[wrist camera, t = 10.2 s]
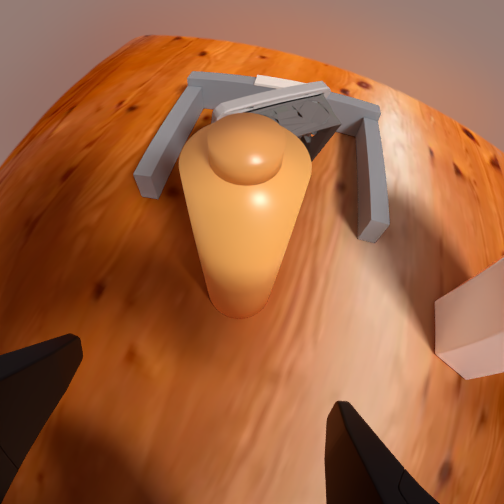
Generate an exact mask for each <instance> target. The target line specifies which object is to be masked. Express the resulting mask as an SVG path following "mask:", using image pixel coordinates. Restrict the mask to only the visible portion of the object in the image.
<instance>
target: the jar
mask: <svg viewBox="0 0 504 504" xmlns="http://www.w3.org/2000/svg"><path fill="white" fill-rule="evenodd" d="M435 354H436V355H437V356H438V357H439V358H440V359H442V360H443V361H444V362H445V363H446V364H448V365H449V366H450V367H451V368H452V369H454V370H455V371H456V372H457V373H458V374H460V375H461V376H462V377H463V378H464V379H466V380H468V379H473V378H478V377H483V376H488V375H493V374H497V373H501V372H504V255H503V256H502V257H500V258H499V259H497V260H496V261H495V262H493V263H492V264H490V265H489V266H487V267H486V268H485V269H483V270H482V271H480V272H479V273H477V274H476V275H474V276H472V277H471V278H469V279H468V280H466V281H465V282H463V283H462V284H460V285H459V286H457V287H456V288H454V289H453V290H451V291H450V292H448V293H447V294H445V295H444V296H442V297H440V298H439V299H437V300H436V301H435Z"/></svg>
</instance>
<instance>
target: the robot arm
mask: <svg viewBox="0 0 504 504" xmlns="http://www.w3.org/2000/svg"><path fill="white" fill-rule="evenodd" d="M82 358H83V351H82V346H81V340H80V338H79V337H78V336H76V335H74V334H71V333H69V334H66V335H63V336H60V337H57V338H53V339H50V340H47V341H44V342H41V343H38V344H35V345H32V346H28V347H25V348H22V349H19V350H16V351H12V352H9V353H6V354H3V355H0V504H1V503H2V501H3V499H4V497H5V495H6V493H7V491H8V489H9V487H10V485H11V483H12V481H13V479H14V477H15V475H16V473H17V472H18V469H19V468H20V466H21V464H22V462H23V460H24V459H25V457H26V455H27V453H28V452H29V450H30V448H31V446H32V445H33V443H34V441H35V440H36V438H37V436H38V435H39V433H40V431H41V430H42V428H43V426H44V425H45V423H46V421H47V420H48V418H49V417H50V415H51V413H52V412H53V410H54V409H55V407H56V406H57V404H58V403H59V401H60V399H61V398H62V396H63V395H64V393H65V392H66V390H67V388H68V386H69V384H70V382H71V380H72V378H73V376H74V374H75V372H76V371H77V369H78V367H79V365H80V363H81V361H82ZM325 479H326V503H327V504H440V503H438V502H437V501H436V500H435V499H434V498H433V497H432V496H431V495H429V494H428V493H427V492H426V491H425V490H424V489H423V488H422V487H421V486H420V485H419V484H418V483H417V482H416V481H415V479H414V478H413V477H412V476H411V475H410V474H409V473H408V472H407V470H406V469H404V467H403V466H402V465H401V463H400V462H399V461H398V460H397V459H396V458H395V456H394V455H393V454H392V453H391V452H390V450H389V449H388V448H387V447H386V446H385V445H384V443H383V442H382V441H381V440H380V439H379V437H378V436H377V435H376V434H375V433H374V431H373V430H372V429H371V428H370V427H369V425H368V424H367V423H366V422H365V421H364V419H363V418H362V417H361V416H360V415H359V413H358V412H357V411H356V410H355V409H354V407H353V406H352V405H351V404H350V403H349V402H347V401H337V402H336V403H335V404H334V406H333V408H332V410H331V412H330V413H329V415H328V418H327V425H326V443H325Z"/></svg>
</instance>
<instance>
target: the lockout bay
mask: <svg viewBox="0 0 504 504" xmlns="http://www.w3.org/2000/svg"><path fill="white" fill-rule="evenodd" d="M187 80H188V86H187V88H186V89H185V91H184V92H183V94H182V95H181V97H180V98H179V99H178V101H177V102H176V104H175V105H174V107H173V108H172V110H171V111H170V113H169V115H168V116H167V118H166V119H165V121H164V122H163V124H162V126H161V127H160V129H159V130H158V132H157V134H156V135H155V137H154V139H153V140H152V142H151V144H150V145H149V147H148V149H147V150H146V152H145V154H144V156H143V157H142V159H141V161H140V163H139V165H138V166H137V168H136V170H135V172H134V174H133V175H134V178H135V180H136V183H137V185H138V188H139V190H140V193H141V195H142V197H148V198H154V199H159V197H160V194H161V192H162V190H163V188H164V185H165V183H166V181H167V179H168V177H169V175H170V173H171V171H172V168H173V166H174V164H175V162H176V160H177V158H178V156H179V154H180V152H181V150H182V148H183V146H184V144H185V142H186V140H187V138H188V136H189V134H190V133H191V131H192V129H193V127H194V125H195V123H196V121H197V119H198V118H199V116H200V114H201V112H202V110H203V108H207V109H215V108H216V107H217V106H218V105H219V104H221V103H223V102H227V101H230V100H234V99H238V98H242V97H245V96H249V95H253V94H258V93H262V92H266V91H271V90H275V89H280V88H285V87H290V86H295V85H301V84H306V83H302V82H297V81H292V80H286V79H281V78H275V77H269V76H262V75H257V77H249V76H241V75H233V74H223V73H211V72H196V71H192V73H191V74H190V75H189V77H188V78H187ZM326 100H327V102H328V103H329V104H330V106H331V108H332V111H333V112H334V114H335V115H336V116H337V118H338V119H339V120H340V122H341V123H342V124H341V126H340V127H339V128H338V129H337V131H336V132H339V133H343V134H347V135H350V136H354V137H356V154H357V180H358V239H359V240H364V241H368V242H372V243H375V242H376V241H377V240H378V239H379V237H380V236H381V235H382V234H383V233H384V231H385V230H386V229H387V228H388V226H389V225H390V219H389V205H388V193H387V183H386V174H385V165H384V158H383V150H382V143H381V137H380V131H379V125H378V120H379V117H380V115H381V112H380V107H379V106H378V105H375V104H372V103H369V102H365V101H362V100H359V99H355V98H352V97H348V96H344V95H341V94H337V93H333V92H330V94H329V95H328V96H327V98H326Z"/></svg>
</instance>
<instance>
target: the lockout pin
mask: <svg viewBox="0 0 504 504" xmlns="http://www.w3.org/2000/svg"><path fill="white" fill-rule="evenodd" d="M179 171H180V176H181V181H182V185H183V190H184V195H185V199H186V204H187V208H188V213H189V217H190V221H191V226H192V230H193V234H194V238H195V242H196V246H197V251H198V255H199V259H200V263H201V266H202V270H203V274H204V278H205V282H206V286H207V290H208V293H209V297H210V300H211V302H212V304H213V305H214V307H215V308H216V309H217V310H218V311H219V312H221V313H222V314H224V315H225V316H228V317H231V318H237V319H242V318H248V317H251V316H253V315H255V314H257V313H258V312H260V311H261V310H262V309H263V308H264V306H265V305H266V303H267V301H268V299H269V296H270V293H271V290H272V288H273V285H274V282H275V279H276V276H277V274H278V271H279V268H280V265H281V262H282V259H283V257H284V254H285V251H286V248H287V245H288V242H289V239H290V236H291V233H292V231H293V228H294V225H295V222H296V219H297V216H298V213H299V210H300V207H301V204H302V201H303V198H304V195H305V192H306V189H307V186H308V183H309V180H310V177H311V171H312V163H311V158H310V155H309V153H308V150H307V149H306V147H305V145H304V144H303V143H302V142H301V140H300V139H299V138H298V137H297V136H296V135H294V134H293V133H292V132H290V131H289V130H287V129H286V128H284V127H282V126H280V125H279V124H278V123H277V122H275V121H274V120H272V119H271V118H268V117H266V116H263V115H260V114H255V113H235V114H231V115H227V116H225V117H223V118H221V119H219V120H217V121H216V122H214V123H212V124H210V125H207V126H205V127H204V128H202V129H200V130H199V131H197V132H196V133H195V134H194V135H193V136H192V137H191V138H190V139H189V140H188V141H187V142H186V144H185V145H184V147H183V149H182V151H181V154H180V158H179Z"/></svg>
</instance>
